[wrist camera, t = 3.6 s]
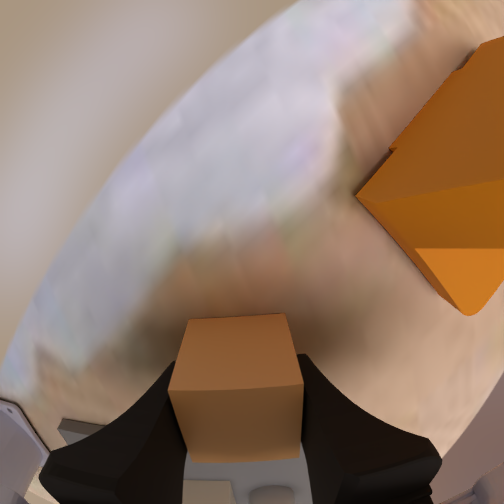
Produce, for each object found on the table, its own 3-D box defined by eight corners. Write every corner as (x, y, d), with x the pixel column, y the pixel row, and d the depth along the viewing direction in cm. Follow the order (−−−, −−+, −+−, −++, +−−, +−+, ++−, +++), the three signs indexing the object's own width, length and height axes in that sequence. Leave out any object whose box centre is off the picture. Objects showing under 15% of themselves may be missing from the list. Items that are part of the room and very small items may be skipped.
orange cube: (202, 389, 14) (192, 462, 9) (189, 319, 12) (167, 390, 8) (285, 384, 14) (299, 457, 9) (284, 312, 13) (303, 383, 8)
